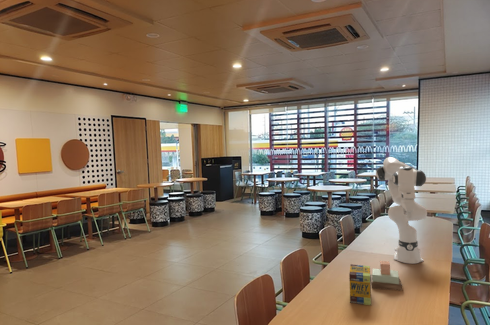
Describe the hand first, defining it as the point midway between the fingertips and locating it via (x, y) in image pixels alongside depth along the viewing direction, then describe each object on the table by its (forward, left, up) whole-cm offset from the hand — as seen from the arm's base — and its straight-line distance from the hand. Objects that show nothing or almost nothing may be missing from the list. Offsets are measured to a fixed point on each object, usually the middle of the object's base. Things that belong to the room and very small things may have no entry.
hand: (406, 216), depth 196 cm
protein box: (+32, -30, -39) cm, 58 cm away
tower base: (+12, -14, -39) cm, 43 cm away
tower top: (+12, -15, -35) cm, 40 cm away
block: (+13, -15, -31) cm, 37 cm away
